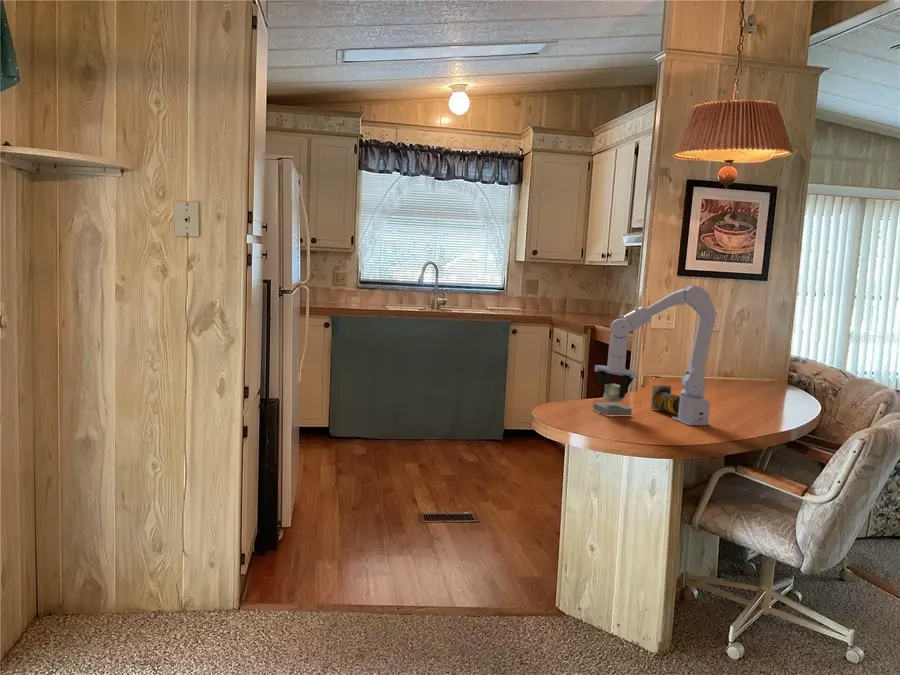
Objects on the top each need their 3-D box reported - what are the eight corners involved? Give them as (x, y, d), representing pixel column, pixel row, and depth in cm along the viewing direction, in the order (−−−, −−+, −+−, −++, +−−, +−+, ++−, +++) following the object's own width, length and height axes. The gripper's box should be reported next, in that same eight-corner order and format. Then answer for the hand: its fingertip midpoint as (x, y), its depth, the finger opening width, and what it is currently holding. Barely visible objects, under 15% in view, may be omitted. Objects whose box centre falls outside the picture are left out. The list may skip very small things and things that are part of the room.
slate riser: (630, 417, 222) (631, 408, 222) (607, 418, 219) (607, 409, 219) (615, 411, 231) (616, 402, 230) (592, 411, 228) (593, 402, 227)
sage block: (622, 401, 223) (624, 386, 223) (611, 401, 222) (612, 386, 221) (614, 398, 227) (615, 383, 227) (603, 398, 226) (604, 384, 225)
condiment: (650, 409, 234) (671, 416, 223) (652, 385, 234) (673, 390, 222) (669, 409, 236) (690, 415, 225) (670, 385, 236) (692, 390, 224)
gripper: (643, 357, 221) (639, 398, 223) (603, 351, 230) (599, 390, 232) (633, 359, 216) (629, 401, 217) (593, 352, 225) (589, 392, 227)
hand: (613, 395), depth 224 cm, fingers closed on sage block, 6 cm apart
